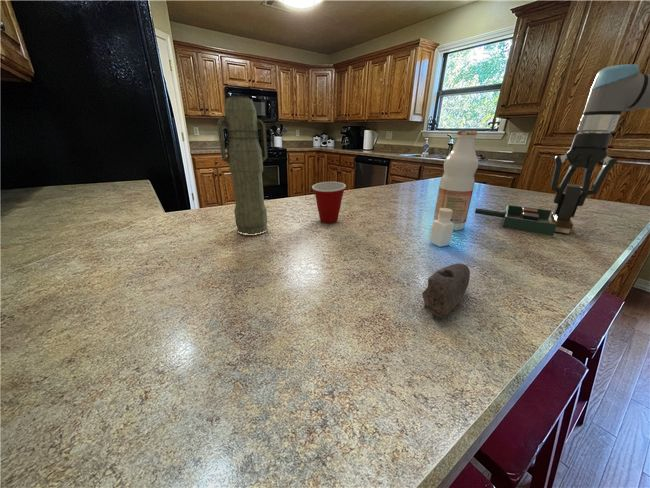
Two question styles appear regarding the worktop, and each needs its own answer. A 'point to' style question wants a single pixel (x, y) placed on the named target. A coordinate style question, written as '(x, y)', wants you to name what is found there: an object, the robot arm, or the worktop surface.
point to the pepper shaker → (442, 228)
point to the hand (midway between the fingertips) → (563, 214)
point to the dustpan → (522, 223)
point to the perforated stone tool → (446, 289)
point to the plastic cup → (329, 200)
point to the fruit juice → (458, 179)
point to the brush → (566, 209)
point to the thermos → (245, 163)
